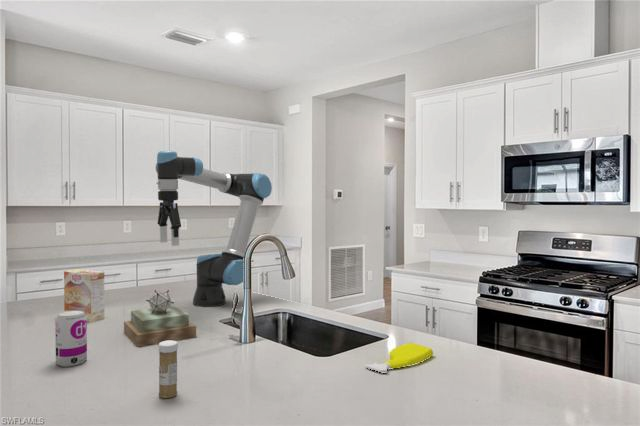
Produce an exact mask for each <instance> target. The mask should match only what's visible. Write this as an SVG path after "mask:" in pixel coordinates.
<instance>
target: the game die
mask: <svg viewBox="0 0 640 426" xmlns="http://www.w3.org/2000/svg"><path fill="white" fill-rule="evenodd" d="M169 292H170V290H169V289H168V290H167V291H156V289H154V293H153V294H152V296H151V297H150V298H149V299H146V300H145V301H146V302H148V303H149V305H150V309H152V310H153V311H152V313H153V312H165V313H166V310H167V309H168V307H169V306H172V304H175V302H174V301H172V300H171V297H170V294H169Z"/></svg>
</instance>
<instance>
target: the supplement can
mask: <svg viewBox="0 0 640 426" xmlns="http://www.w3.org/2000/svg"><path fill="white" fill-rule="evenodd" d="M54 320H55V321H54V323H55V328H54V329H55V364H56V365H58V366H59V367H62V368H64V367H65V368H67V367H74V366H79V365H81V364H83V363H85V361H87V359H88V346H87V345H88V344H87V343H88V336H87V335H88V328H87V327H88V324H87V323H88V322H87V316H86V315H85V313H84V311H82V310H71V311H61V312H59V313H58V314H57V316H56V318H55V319H54Z"/></svg>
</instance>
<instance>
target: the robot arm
mask: <svg viewBox="0 0 640 426" xmlns="http://www.w3.org/2000/svg"><path fill="white" fill-rule="evenodd" d="M156 156H157V157H156V164H155V172H156V173H157V182H156V185H157V190H159V191H157V199H158V201H160V202H159V209H158V218H157V225H158V226H159V243H160V244H162V243H168V223H167V222H168V219H169V222H170V225H171V226H170V233H171V238H170V239H171V240H170V241H171V247H175V246H180V228H182V223H181V218H180V214H179V208H178V207H179V205H178V202H175V201H178V200H179V191H178V189H179V180H183V181H186V182H188V183H194V184H196V185H197V184H198V185H200V186H201V185H202V186H204V187H205V186H206V187H209V188H213V189H216V190H218V191H219V192H220V193H223V194H228V195H231V196H234V197H238V198H239V200H240V203H239V207H238V208H237V209H238V210H237V213H236V217H235V220H234V223H233V227H232V229H231V233H230V236H229V239H228V243H227V245H226V249H225V250H223V251H222V252H221V253H211V254H202V255H199V256H198V257H197V258H196V288H195V292H194V295H193V297H192V304H193V305H194V306H197V307H216V306H221V305H224V304H226V302H227V300H226V299H227V298H226V297H227V296H226V294H225V291H224V289H223V284H224V285H225V284H226V285H228V286H238V285H240V284H242V283H244V281H243V258H244V253H245V254H246V251H245V250H247V248H248V243H249V240H250V237H251V233H252V230H253V226H254V223H255V219H256V217H257V212H258V210H259V206H262V205H263V203H264V200H265V199H266V198H268V197H270V195H271V194H272V191H273V190H272V189H273V188H272V186H273V185H272V182H271V180H270V178H269V177H268V176H267V175H266V174H265V173H261V172H260V173H259V172H255V173H228V172H223V173H221V172H217V171H213V170H210V169H207V168H204V163H203V161H202V160H201V158H198V157H197V158H196V157H188V156H187V157H185V156H184V157H183V156H181V157H180V156H178V152H177V151H174V150H159V151H158V153H157V155H156ZM246 247H247V248H246Z"/></svg>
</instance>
